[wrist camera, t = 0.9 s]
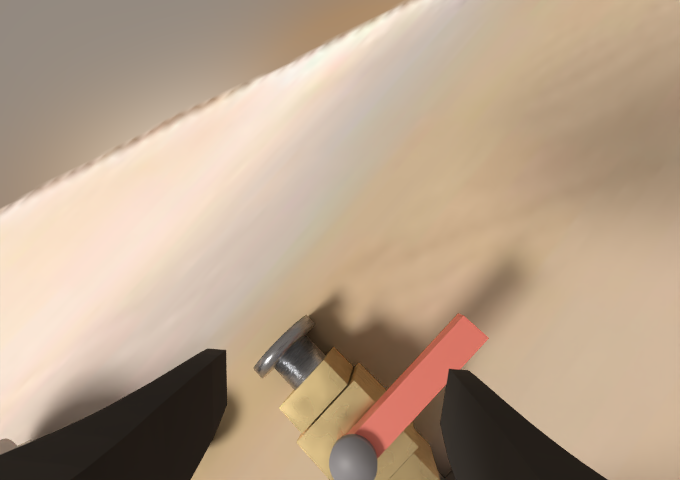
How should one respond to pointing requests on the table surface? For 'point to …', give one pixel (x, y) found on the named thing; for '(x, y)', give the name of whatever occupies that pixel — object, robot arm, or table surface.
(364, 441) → the lever
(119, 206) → the table surface
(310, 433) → the valve pipe
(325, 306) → the table surface
